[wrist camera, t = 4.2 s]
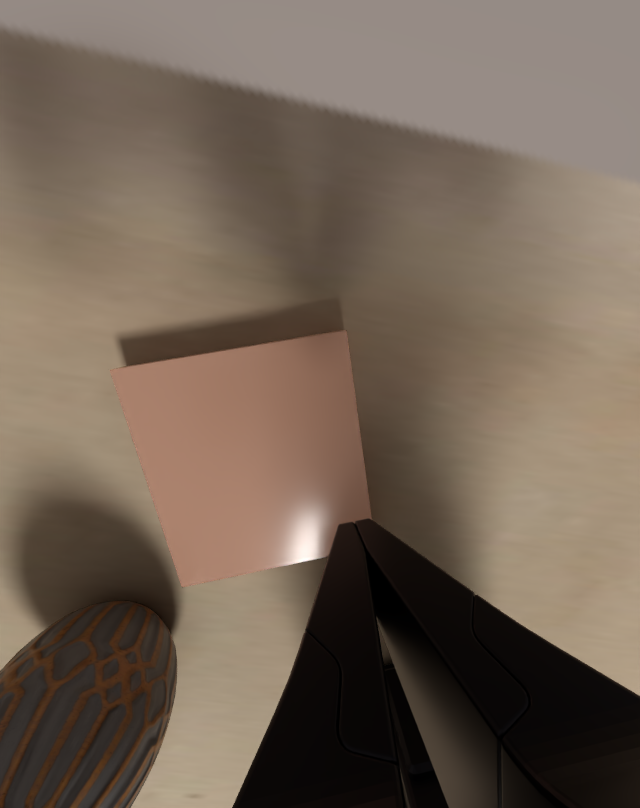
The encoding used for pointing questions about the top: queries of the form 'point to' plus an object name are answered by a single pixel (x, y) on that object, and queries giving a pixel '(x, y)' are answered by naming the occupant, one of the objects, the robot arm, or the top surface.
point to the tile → (249, 452)
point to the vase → (86, 709)
